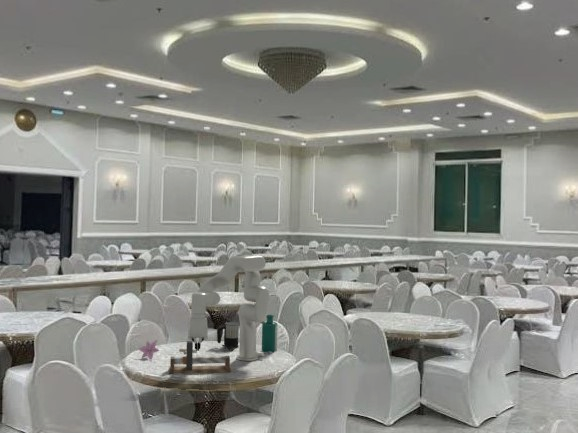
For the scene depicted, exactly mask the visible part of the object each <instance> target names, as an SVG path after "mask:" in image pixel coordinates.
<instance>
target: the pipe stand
mask: <svg viewBox="0 0 578 433" xmlns="http://www.w3.org/2000/svg"><path fill="white" fill-rule="evenodd" d="M230 362H231V358H230V355H223V356H222V355H217V356H213V355H212V356H192V370H186V363H187V356H186V355H185V356H183V355H182V356H170V365H169V370H168V374H169V375H177V374H178V375H180V374H181V375H182V374H183V375H184V374H216V373H218V374H221V373H222V374H223V373H232V370H231V367H230V365H231V364H230ZM194 364H195V365H194ZM199 364H201V365H199ZM202 364H206V365H202ZM207 364H222V365H207ZM223 364H224V365H223ZM175 365H181V366H175Z"/></svg>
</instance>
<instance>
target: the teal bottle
mask: <svg viewBox="0 0 578 433" xmlns="http://www.w3.org/2000/svg"><path fill="white" fill-rule="evenodd" d="M274 317H275V314H267V316H266V321H265V320H264V321H263V322H260V323H261V324H262V325H261V352H264V353H265V352H266V353H267V352H268V353H273V352H276V351H277V349H278V323H277V322H274Z"/></svg>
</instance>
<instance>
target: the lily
mask: <svg viewBox="0 0 578 433" xmlns="http://www.w3.org/2000/svg"><path fill="white" fill-rule="evenodd" d="M157 343H158V339H156V340H154V341H152V342H150V341H149V340H146V343H145V345H143V346H140V347H138V351H139V352H141V353H142V355H141V359H145V358H146V357H147V358H148V359H149V360H150V359H152V360H153V357H154V353H157V352H160V349H159V348H156V346H157Z"/></svg>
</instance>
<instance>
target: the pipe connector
mask: <svg viewBox="0 0 578 433" xmlns="http://www.w3.org/2000/svg"><path fill="white" fill-rule="evenodd" d="M197 352H198V350H197V351H196V349H193V354H197ZM179 353H183V355H185V356H186V355H187V348H179Z"/></svg>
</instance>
